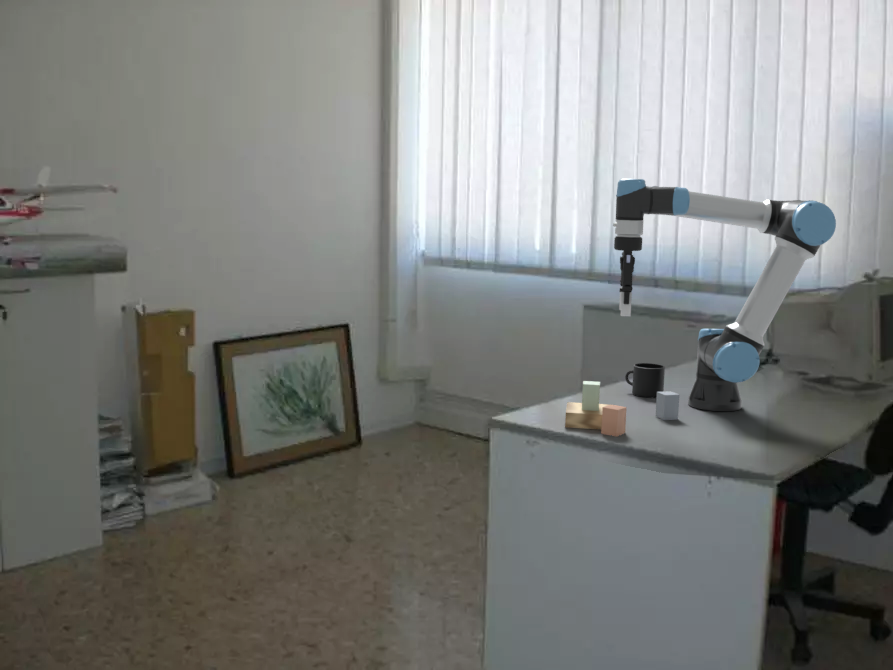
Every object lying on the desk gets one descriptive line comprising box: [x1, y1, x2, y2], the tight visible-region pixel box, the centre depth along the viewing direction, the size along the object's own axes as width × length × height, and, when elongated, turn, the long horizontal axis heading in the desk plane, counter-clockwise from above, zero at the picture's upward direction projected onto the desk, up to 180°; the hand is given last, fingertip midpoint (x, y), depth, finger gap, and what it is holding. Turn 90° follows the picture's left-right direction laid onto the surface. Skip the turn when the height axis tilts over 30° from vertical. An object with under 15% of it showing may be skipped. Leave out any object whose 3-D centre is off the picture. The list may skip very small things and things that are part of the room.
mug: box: [624, 362, 666, 399], centre depth 315 cm, size 9×12×9 cm
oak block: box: [564, 401, 610, 430], centre depth 276 cm, size 13×13×4 cm
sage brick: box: [581, 380, 601, 411], centre depth 275 cm, size 4×4×7 cm
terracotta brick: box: [600, 404, 627, 437], centre depth 265 cm, size 4×4×7 cm
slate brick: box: [655, 390, 680, 421], centre depth 284 cm, size 4×4×7 cm
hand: (624, 313), depth 283 cm, fingers open, 13 cm apart
